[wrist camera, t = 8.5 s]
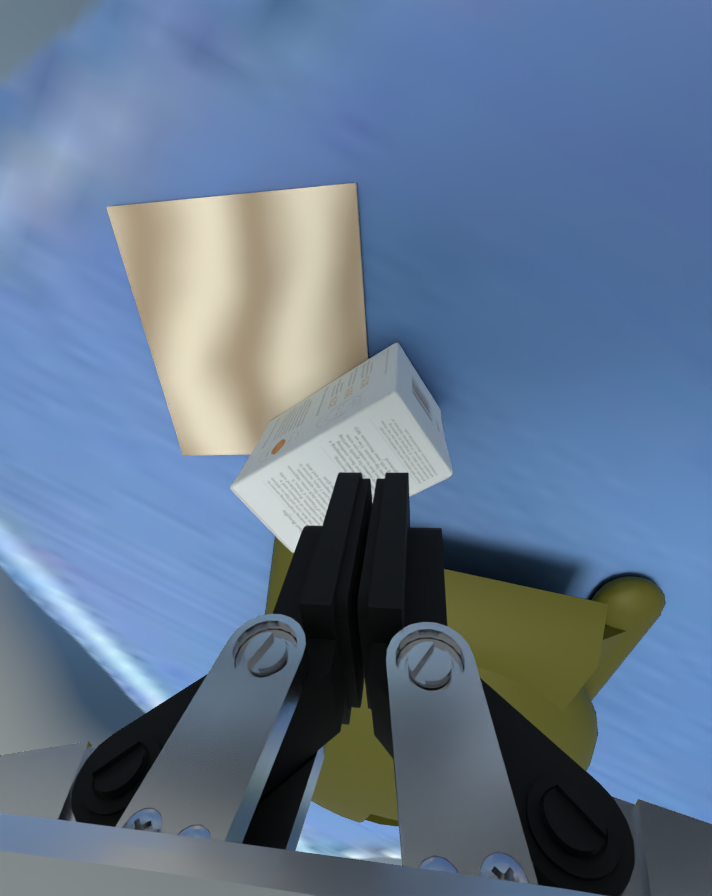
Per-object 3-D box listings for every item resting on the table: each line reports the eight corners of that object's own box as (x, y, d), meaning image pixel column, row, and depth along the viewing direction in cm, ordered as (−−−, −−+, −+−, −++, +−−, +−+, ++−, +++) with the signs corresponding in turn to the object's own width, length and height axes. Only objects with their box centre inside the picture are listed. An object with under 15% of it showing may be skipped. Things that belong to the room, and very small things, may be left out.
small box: (444, 409, 28) (316, 479, 32) (397, 337, 26) (267, 421, 30) (455, 479, 22) (291, 557, 25) (394, 390, 20) (225, 489, 23)
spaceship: (283, 491, 34) (242, 588, 26) (669, 574, 34) (756, 697, 26) (252, 730, 52) (221, 835, 43) (508, 784, 52) (528, 899, 43)
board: (356, 183, 23) (355, 182, 23) (374, 448, 31) (374, 451, 30) (111, 206, 25) (106, 207, 25) (186, 452, 33) (183, 455, 32)
